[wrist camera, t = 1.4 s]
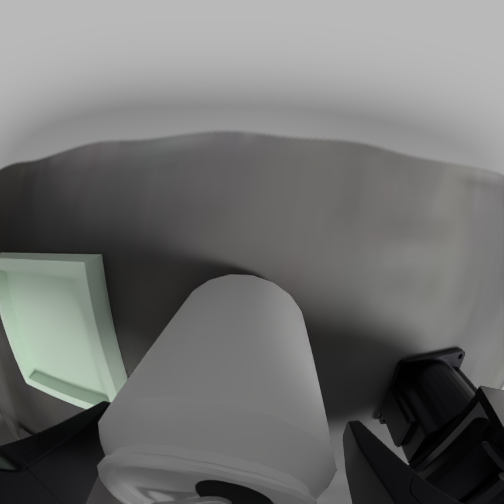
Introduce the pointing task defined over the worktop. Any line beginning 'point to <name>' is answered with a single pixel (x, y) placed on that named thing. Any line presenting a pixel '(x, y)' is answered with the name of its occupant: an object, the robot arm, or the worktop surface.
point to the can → (222, 406)
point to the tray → (61, 325)
